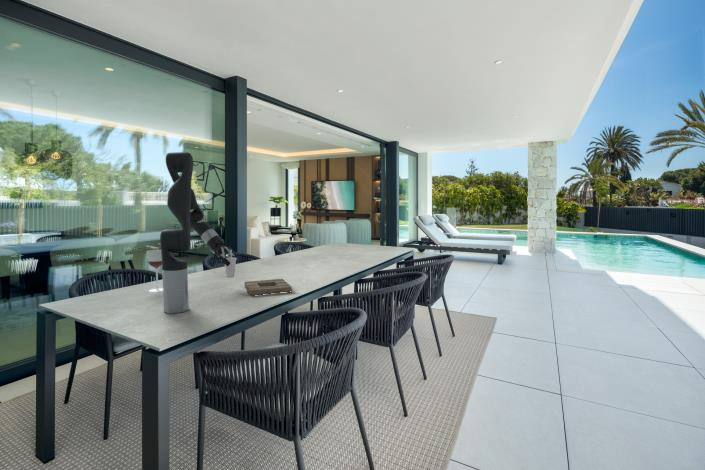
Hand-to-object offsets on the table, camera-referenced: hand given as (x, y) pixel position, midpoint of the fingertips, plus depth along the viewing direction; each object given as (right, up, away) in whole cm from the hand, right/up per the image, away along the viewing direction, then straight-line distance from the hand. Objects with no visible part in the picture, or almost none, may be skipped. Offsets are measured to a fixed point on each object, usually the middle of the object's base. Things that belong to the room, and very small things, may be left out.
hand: (233, 263), depth 180 cm
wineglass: (-38, -13, -1) cm, 40 cm away
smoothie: (-2, -7, +1) cm, 7 cm away
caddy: (+17, -13, +2) cm, 22 cm away
